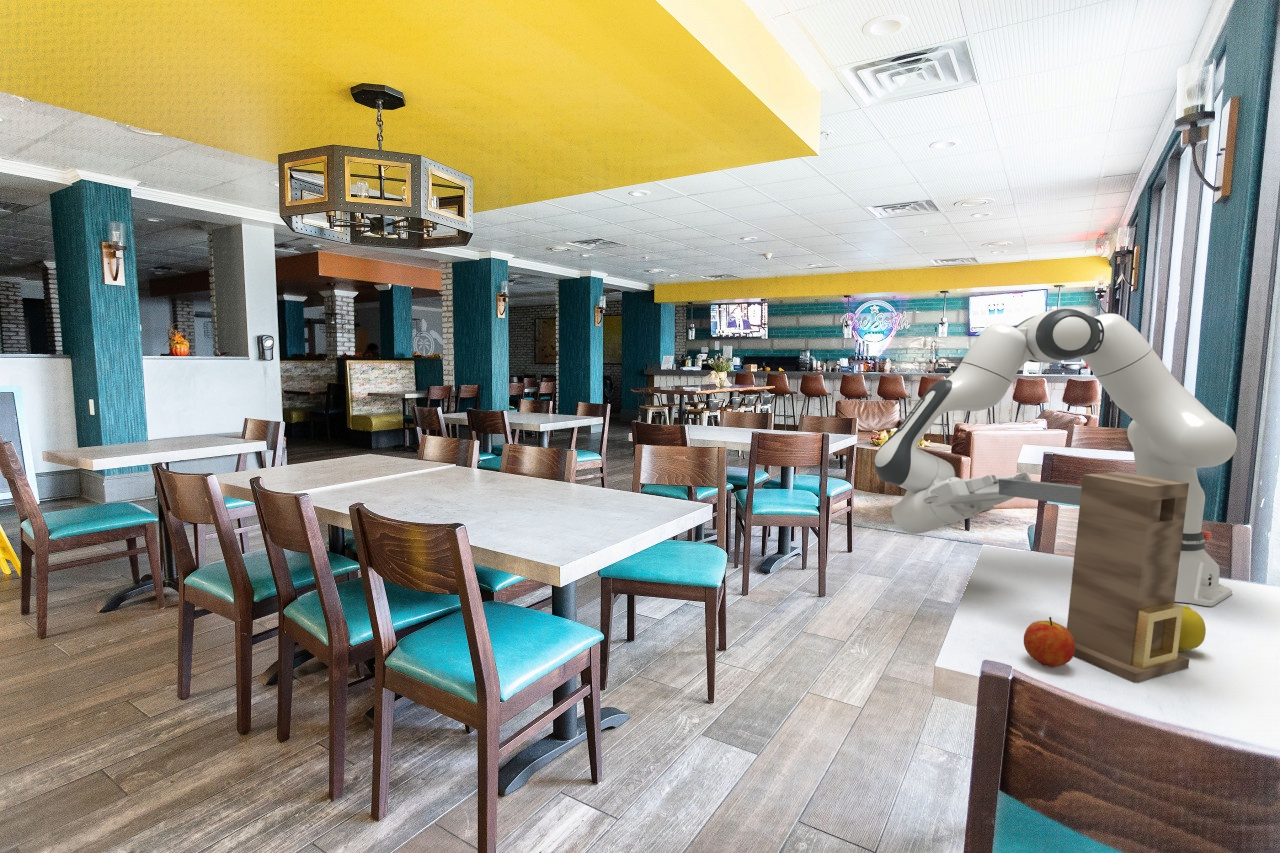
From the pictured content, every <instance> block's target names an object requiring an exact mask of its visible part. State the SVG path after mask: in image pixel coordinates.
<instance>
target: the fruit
mask: <svg viewBox="0 0 1280 853" xmlns="http://www.w3.org/2000/svg"><path fill="white" fill-rule="evenodd" d="M1048 619H1049V620H1039V621H1034V622H1032V623H1031V624H1029V625H1028V627H1026V630H1025V631H1024V634H1023V645H1024V648H1025V650H1026V652H1027V654H1028V655H1029V657H1031V658H1032V659H1033V660H1034V661H1035V662H1037V663H1038V664H1039V665H1041V666H1043V667H1049V668H1056V667H1061V666H1064V665H1065V664H1068V663H1070V661H1071V660H1072V659H1073V657H1074V653H1075V642H1074V638H1073V636H1072V634H1071V633H1070V631H1069V630H1068V629H1067V627H1065V626H1063V625H1062V624H1060V623H1057V622H1055V621H1052V617H1051V616H1049V617H1048Z"/></svg>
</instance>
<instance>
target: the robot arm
mask: <svg viewBox="0 0 1280 853" xmlns="http://www.w3.org/2000/svg"><path fill="white" fill-rule="evenodd" d="M1077 358H1079V359H1081V360H1082V361H1083V362H1084V363H1085V364H1087V366H1088V367H1089V369H1090V370H1091V372H1092V373H1093V375H1094V376H1095V378H1096V379H1097V381H1098V382H1099V383H1100V385H1101V386H1102V388H1103V389H1104V390H1105V391H1106V393H1107V394H1108V395H1109V397H1110V399H1111V400H1112V401H1113V404H1115V405H1116V407H1118V408H1119V409H1120V410H1122V411H1123V412H1124V413H1125V414H1127V415H1128V417H1130V418H1131V419H1132V420H1131V421H1130V423H1129V424H1128V427H1127V439H1128V441H1129V443H1130V445H1131V448H1132V450H1133V458H1134V464H1135V471H1136V473H1135V474H1137V475H1143V476H1149V477H1155V478H1162V479H1168V480H1174V481H1180V482H1186V483H1189V488H1188V496H1187V504H1186V512H1185V520H1184V528H1183V537H1182V545H1181V553H1180V561H1179V562H1180V569H1179V572H1178V577H1177V585H1176V593H1175V602H1176V603H1187V604H1194V605H1198V606H1199V605H1200V606H1205V607H1213V606H1215V605H1217V604H1219V603H1220V602H1222V601H1224V600H1225V599H1227V598H1228V597H1230V596H1231V595H1233V589H1232V588H1230V587H1228V586H1225V585H1223V584H1220V582H1219V580H1220V573H1221V572H1220V571H1221V570H1220V565H1219V564H1218V563H1217V562H1216V561H1215V560H1214V559H1213V558H1212V557H1211V555H1210V554H1208V553H1207V551H1206V550H1205V548H1206V545H1205V542H1209V541H1210V540H1211V539H1212V532H1211V531H1208V530H1202V526H1203V517H1204V510H1205V503H1206V494H1205V492H1204V490H1203V488H1202V486H1201V483H1200V481H1199V477H1198V472H1197V469H1204V468H1213V467H1214V468H1215V467H1218V466H1221V465H1223V464H1225V463H1226V462H1227V461H1229V460H1230V459H1231V458H1232V457H1233V456H1234V454H1235V453H1236V450H1237V447H1238V439H1237V435H1236V433H1235V431H1234V429H1232V427H1230V426H1229V425H1228V424H1227V423H1225V422H1224V421H1222V420H1221V419H1219V418H1218V417H1216V416H1215V415H1214V414H1213V413H1212V412H1210V410H1208V408H1206V407H1205V405H1204V404H1202V403H1201V402H1200V401H1199V399H1197V398H1196V397H1195V396H1194V395H1193V394H1192V393H1191V392H1190V391H1188V390H1187V389H1186V388H1185V387H1184V386H1183V385H1182V384H1181V383H1180V382H1179V380H1177V379H1176V377H1175V376H1174V375H1173V374H1172V373H1171V371H1170V370H1169V369H1168V367H1167V366H1166V365H1165V364H1164V362H1163V361H1162V359H1161V358H1160V357H1159V355H1158V354H1157V353H1156V351H1155V350H1154V349H1153V347H1152V346H1151V344H1150V343H1149V342H1148V341H1147V339H1146V338H1145V337H1144V336H1143V335H1142V334H1141V332H1140V331H1138V329H1137V328H1135V326H1133V325H1132V324H1131V323H1130V321H1128V320H1127V319H1126V318H1125V317H1123V316H1122V315H1120V314H1117V313H1103V314H1098V315H1096V316H1091V315H1089V314H1087V313H1085V312H1083V311H1080V310H1077V309H1073V308H1059V309H1052V310H1048V311H1043V312H1041V313H1038V314H1037V315H1034V316H1031V317H1028V318H1026V319H1025V320H1023V321H1022V322H1020V323H1018V324H1017V325H1015V326H1012V325H1009V324H1004V323H1003V324H1002V323H1001V324H1000V323H998V324H992V325H989V326H986V328H985V329H984V330H982V332H981V333H980V335H979V336H978V337H977V338H976V339H975V341H974V342H973V343H972V344H971V346H970V347H969V349H968V350H967V352H966V353H965V355H964V357H963V358H962V360H961V362H960V364H959V365H958V366H957V369H956V370H955V371H954V372H953V373H952V374H951V375H950V376H948V377H947V378H945V379H942V380H941V379H940V380H937V381H935V383H933V384H932V385H931V386H930V387H929V388H928V389H927V390H926V392H925V393H924V394H923V396H921V398H920V399H919V400H918V401H917V403H916V404H915V406H914V407H913V408H912V409H911V411H910V412H909V413H908V415H907V416H906V417H905V418H904V420H903V421H902V422H901V424H900V425H899V427H898V428H897V429H896V430H895V432H894V433H893V434H892V435H891V436H890V437H889V438H888V439H887V440H886V441H885V442H884V443H883V444H882V445H880V447H879V448H878V449H877V451H876V453H875V454H874V457H873V465H874V470H875V472H876V475H877V477H878V478H879V480H880V481H881V482H884V483H887V484H890V485H892V486H897V487H900V488H902V489H904V490H906V492H905V494H904V496H902V499H901V500H900V501H898V502H897V503H896V504H894V505H893V506H892V509H891V517H892V520H893V522H894V523H895V525H896V526H897V527H898V528H899V529H900V530H902V531H904V532H906V533H908V534H909V535H910V534H912V535H918V534H919V535H920V534H924V533H928V532H932V531H935V530H938V529H940V528H942V527H944V525H950V524H955V523H957V522H961V521H963V520H966V519H970V518H972V517H974V516H976V515H978V514H982V513H987V512H990V511H992V510H994V509H995V506H998V505H1000V504H1002V503H1005V502H1008V501H1009V500H1012V499H1014V498H1015V497H1012V496H1005V495H999V479H1009V478H1010V479H1019V480H1028V481H1032V477H1031V475H1030V473H1029V472H1021V473H1018V474H1015V475H1005V476H1004V475H1002V476H996V475H994V474H989V475H988V474H987V475H985V476H983V477H977V478H976V477H975V478H966V479H965V478H964V479H963V478H960V477H957V474H956V470H955V468H954V467H955V466H953V464H952V463H950V462H948V461H947V460H945V459H943V458H941V457H939V456H936V455H934V454H931V453H929V452H927V451H925V450H922V449H921V448H918V447H917V446H918V443H919V442H920V441H921V440H922V438H924V436H925V434H926V433H927V432H928V431H929V430H930V428H931V427H932V425H933V424H934V423H935V421H937V419H938V418H939V417H940V416H942V415H943V414H946V413H949V412H952V411H953V412H954V411H961V412H962V411H963V412H981V411H984V410H988V409H990V408H992V407H995V406H996V405H998V404H999V403H1000V401H1001V400H1002V399H1003V397H1005V395H1006V393H1007V392H1008V390H1009V388H1010V386H1011V385H1012V383H1013V381H1014V379H1015V377H1016V375H1017V373H1018V372H1019V370H1020V369H1021V368H1022V366H1023V365H1025V364H1026V363H1027V362H1029V363H1030V362H1031V363H1044V364H1045V363H1046V364H1049V363H1050V364H1051V363H1058V362H1061V361H1069V360H1070V361H1071V360H1074V359H1077ZM1175 602H1174V603H1175Z"/></svg>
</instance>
